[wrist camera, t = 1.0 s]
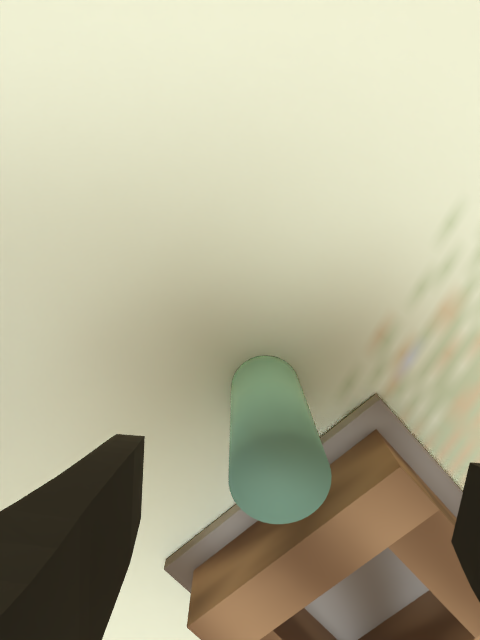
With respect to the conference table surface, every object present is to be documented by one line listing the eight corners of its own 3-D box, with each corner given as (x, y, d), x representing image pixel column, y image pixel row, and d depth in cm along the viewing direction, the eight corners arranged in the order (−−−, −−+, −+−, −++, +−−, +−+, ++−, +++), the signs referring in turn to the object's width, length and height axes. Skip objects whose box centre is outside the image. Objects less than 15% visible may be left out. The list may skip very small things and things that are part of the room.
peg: (262, 431, 20) (274, 541, 14) (217, 385, 20) (207, 476, 13) (312, 390, 20) (352, 482, 13) (268, 341, 19) (285, 412, 13)
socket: (333, 710, 24) (349, 794, 21) (165, 559, 22) (152, 625, 18) (536, 575, 22) (592, 642, 19) (376, 393, 20) (405, 431, 16)
